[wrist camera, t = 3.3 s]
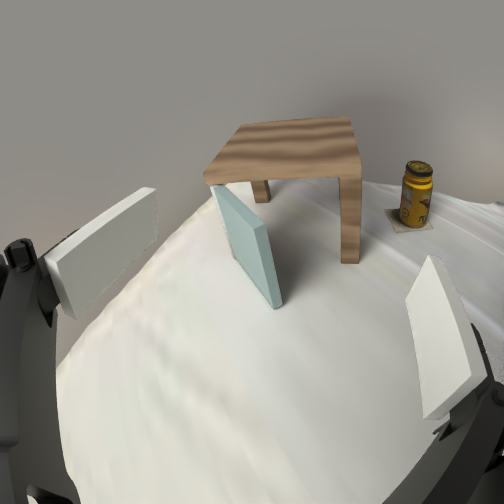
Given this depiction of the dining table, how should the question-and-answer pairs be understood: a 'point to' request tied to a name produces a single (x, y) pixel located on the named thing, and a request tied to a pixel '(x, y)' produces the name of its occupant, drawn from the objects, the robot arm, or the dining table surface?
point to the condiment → (413, 199)
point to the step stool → (297, 164)
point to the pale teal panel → (248, 242)
